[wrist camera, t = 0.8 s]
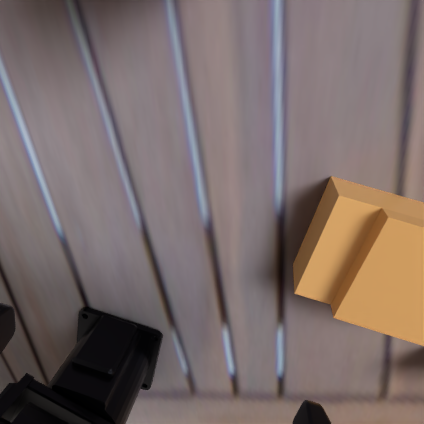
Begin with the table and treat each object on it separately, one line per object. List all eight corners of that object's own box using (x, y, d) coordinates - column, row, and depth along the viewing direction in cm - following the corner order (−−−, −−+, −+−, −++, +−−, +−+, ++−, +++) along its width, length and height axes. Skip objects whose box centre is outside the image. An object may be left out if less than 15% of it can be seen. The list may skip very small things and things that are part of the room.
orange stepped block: (404, 296, 20) (430, 348, 17) (292, 262, 21) (295, 305, 17) (460, 211, 18) (506, 251, 14) (330, 174, 18) (342, 203, 14)
